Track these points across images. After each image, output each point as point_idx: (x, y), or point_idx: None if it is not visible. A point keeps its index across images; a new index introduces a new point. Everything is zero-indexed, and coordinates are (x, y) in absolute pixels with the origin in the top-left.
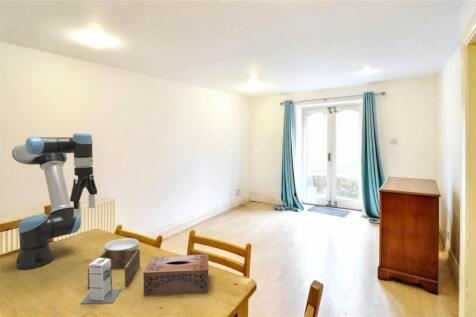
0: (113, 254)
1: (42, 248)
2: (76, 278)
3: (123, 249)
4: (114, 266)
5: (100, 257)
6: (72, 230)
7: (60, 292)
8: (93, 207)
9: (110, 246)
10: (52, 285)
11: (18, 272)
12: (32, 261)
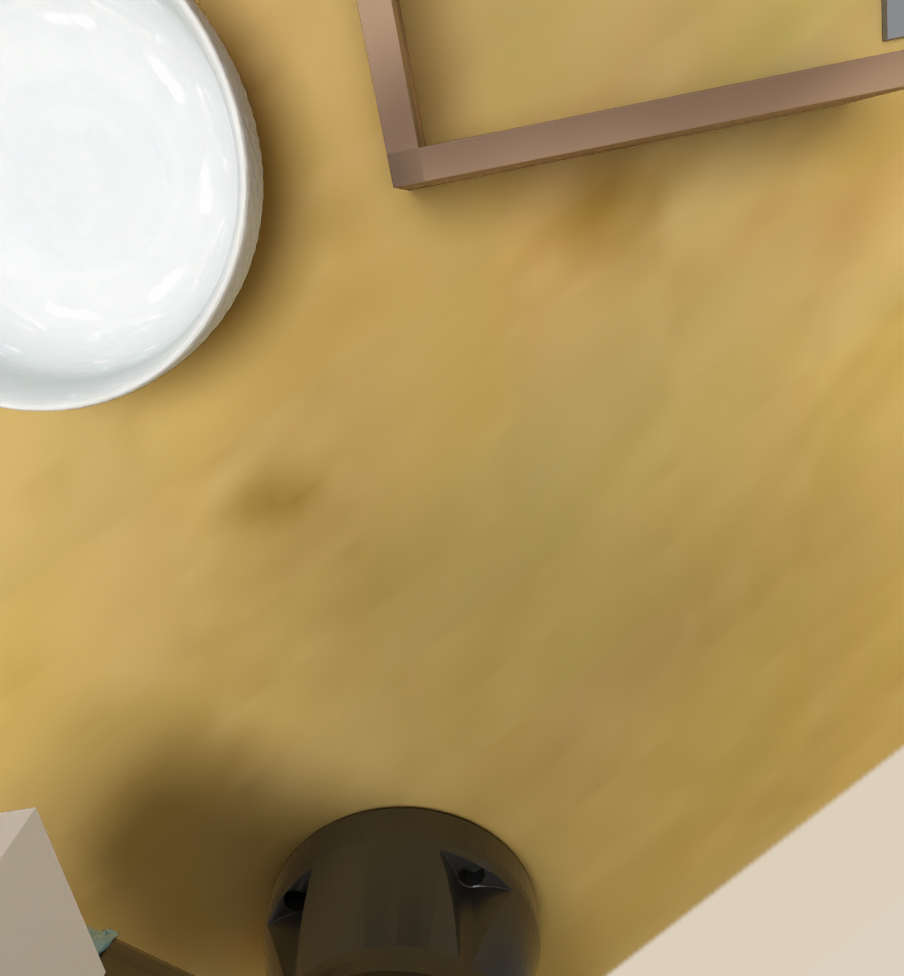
0: (403, 54)
1: (424, 963)
2: (649, 369)
3: (194, 10)
4: (410, 70)
5: (645, 103)
6: (99, 940)
7: (896, 341)
8: (43, 852)
9: (34, 374)
10: (777, 497)
11: (580, 904)
12: (512, 907)
